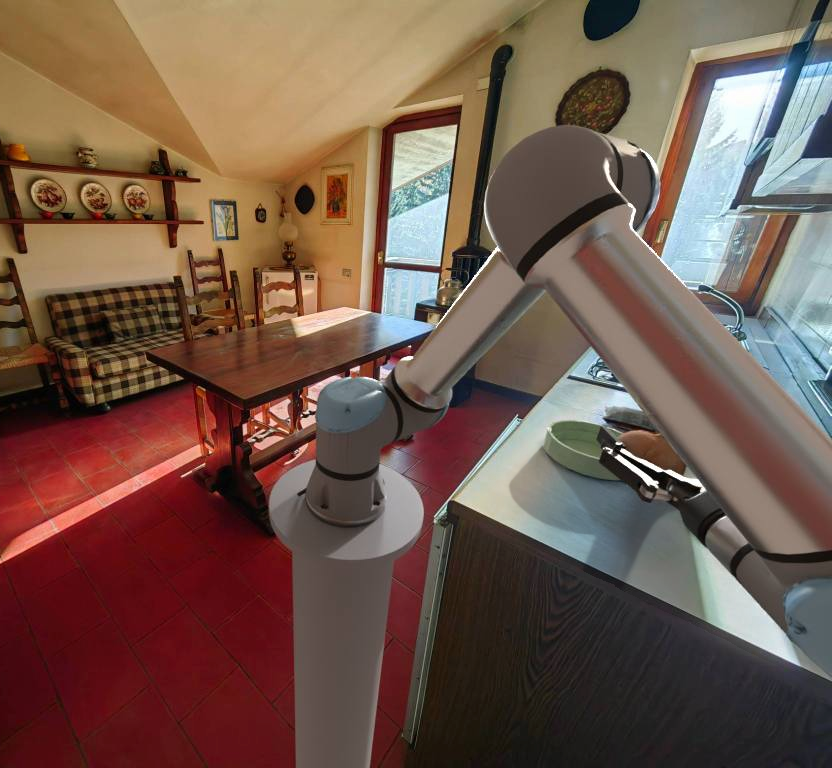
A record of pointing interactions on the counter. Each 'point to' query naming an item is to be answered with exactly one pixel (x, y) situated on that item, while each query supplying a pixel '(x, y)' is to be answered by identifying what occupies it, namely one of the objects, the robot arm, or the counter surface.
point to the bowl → (577, 447)
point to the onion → (653, 450)
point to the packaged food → (628, 419)
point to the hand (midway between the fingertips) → (634, 436)
